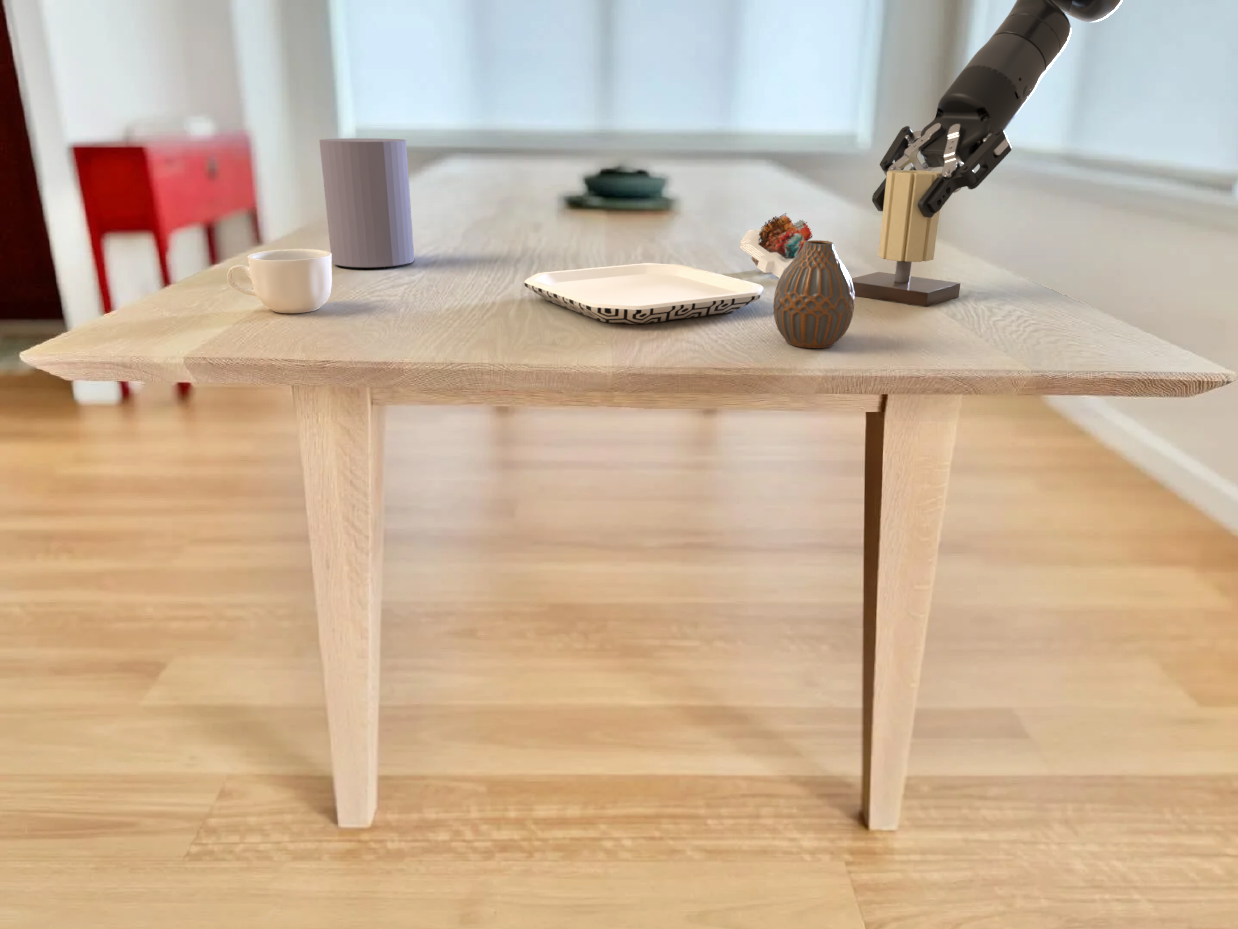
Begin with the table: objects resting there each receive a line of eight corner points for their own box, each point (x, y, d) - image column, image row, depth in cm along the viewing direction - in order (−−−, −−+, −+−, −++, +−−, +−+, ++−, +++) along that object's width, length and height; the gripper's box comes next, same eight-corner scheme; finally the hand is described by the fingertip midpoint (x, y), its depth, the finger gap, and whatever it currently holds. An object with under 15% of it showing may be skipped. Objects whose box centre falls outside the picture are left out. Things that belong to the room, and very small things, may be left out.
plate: (782, 311, 94) (784, 289, 93) (608, 334, 84) (609, 310, 83) (667, 279, 110) (668, 260, 110) (510, 295, 100) (510, 274, 99)
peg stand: (958, 296, 102) (969, 227, 100) (926, 306, 97) (935, 233, 94) (877, 284, 109) (884, 218, 106) (841, 293, 103) (848, 224, 100)
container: (354, 272, 112) (342, 142, 107) (318, 262, 119) (305, 138, 114) (429, 264, 119) (421, 140, 113) (390, 254, 126) (381, 137, 120)
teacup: (339, 300, 97) (334, 247, 95) (334, 315, 90) (328, 259, 88) (238, 303, 95) (230, 250, 93) (225, 319, 88) (216, 262, 86)
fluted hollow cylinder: (941, 257, 101) (952, 171, 98) (917, 263, 98) (928, 174, 94) (894, 252, 105) (903, 169, 102) (869, 257, 101) (878, 171, 98)
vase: (855, 338, 84) (866, 239, 80) (843, 356, 78) (854, 250, 74) (780, 331, 86) (787, 234, 83) (762, 347, 80) (769, 244, 77)
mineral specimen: (780, 243, 124) (794, 193, 120) (843, 283, 118) (860, 232, 113) (714, 258, 118) (726, 206, 114) (777, 301, 111) (792, 248, 107)
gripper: (925, 64, 103) (836, 179, 102) (1037, 60, 92) (939, 189, 90) (951, 115, 108) (866, 226, 106) (1061, 117, 96) (968, 241, 95)
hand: (900, 208), depth 98 cm, fingers closed on fluted hollow cylinder, 6 cm apart
